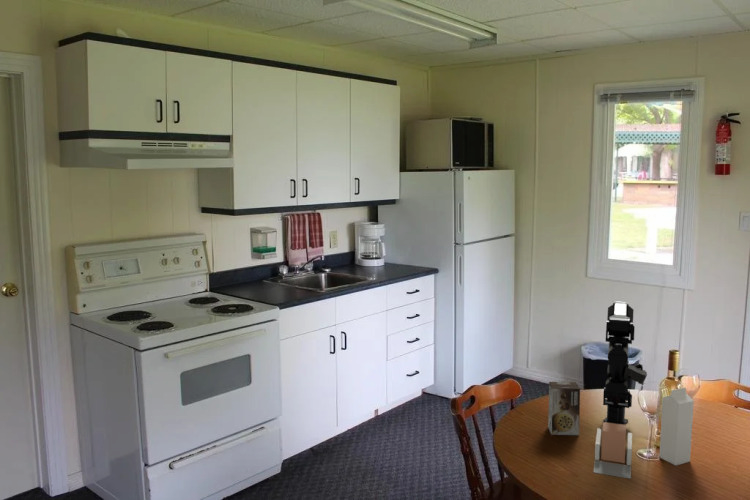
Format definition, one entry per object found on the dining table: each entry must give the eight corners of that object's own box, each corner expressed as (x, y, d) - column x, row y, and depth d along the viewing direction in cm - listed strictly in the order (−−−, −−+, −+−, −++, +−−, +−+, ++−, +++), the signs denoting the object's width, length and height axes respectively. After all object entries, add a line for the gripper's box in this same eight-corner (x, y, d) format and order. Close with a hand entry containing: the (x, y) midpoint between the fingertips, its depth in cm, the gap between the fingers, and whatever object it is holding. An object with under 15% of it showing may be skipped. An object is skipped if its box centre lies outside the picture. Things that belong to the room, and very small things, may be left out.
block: (602, 449, 194) (603, 422, 193) (624, 453, 191) (626, 425, 190) (601, 459, 187) (602, 430, 186) (624, 463, 185) (625, 434, 184)
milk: (690, 462, 186) (695, 390, 183) (675, 465, 183) (680, 393, 180) (673, 453, 191) (677, 384, 188) (658, 457, 189) (663, 387, 186)
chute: (596, 443, 199) (597, 428, 198) (631, 448, 195) (631, 433, 194) (593, 472, 180) (593, 456, 179) (631, 478, 176) (631, 462, 175)
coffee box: (575, 427, 210) (576, 381, 208) (579, 435, 204) (581, 388, 202) (547, 426, 211) (548, 380, 209) (550, 435, 205) (552, 387, 203)
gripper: (646, 369, 185) (643, 419, 187) (645, 351, 202) (643, 398, 204) (606, 364, 189) (604, 414, 191) (608, 348, 206) (606, 393, 208)
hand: (615, 404), depth 199 cm, fingers open, 3 cm apart
